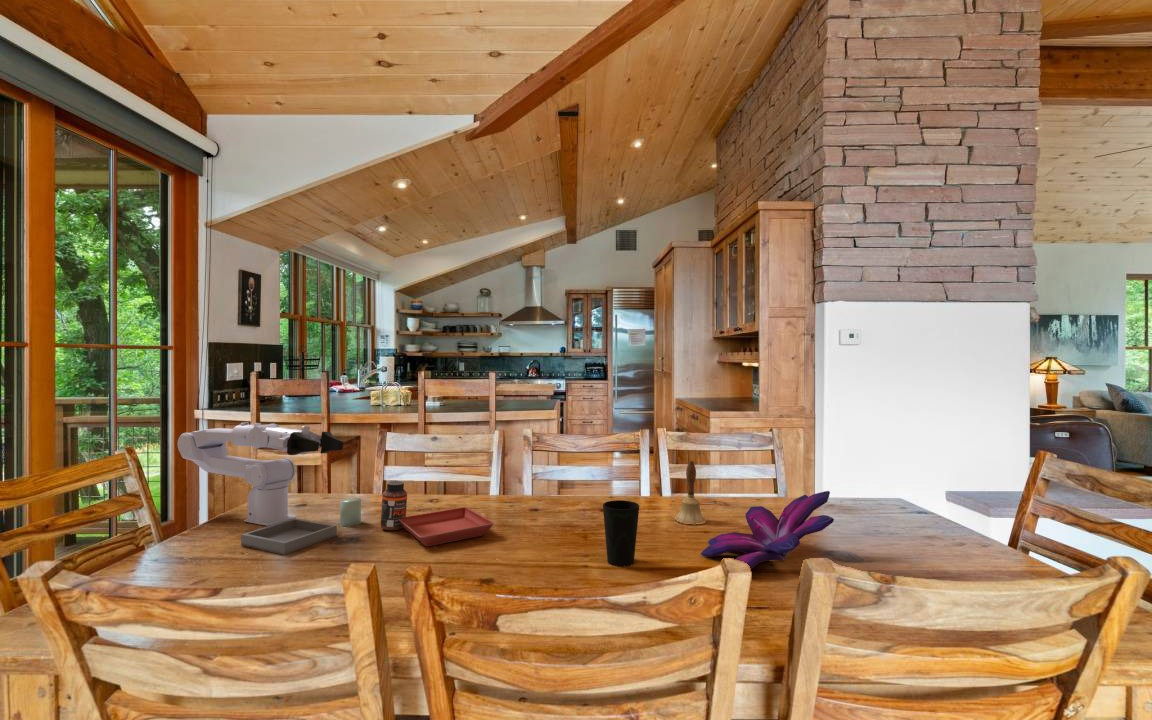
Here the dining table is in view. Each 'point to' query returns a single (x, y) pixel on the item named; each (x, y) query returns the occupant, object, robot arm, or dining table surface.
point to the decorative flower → (773, 531)
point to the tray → (288, 536)
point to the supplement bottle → (393, 506)
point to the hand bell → (690, 500)
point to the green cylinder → (350, 511)
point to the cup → (620, 531)
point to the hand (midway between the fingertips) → (330, 446)
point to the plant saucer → (446, 526)
